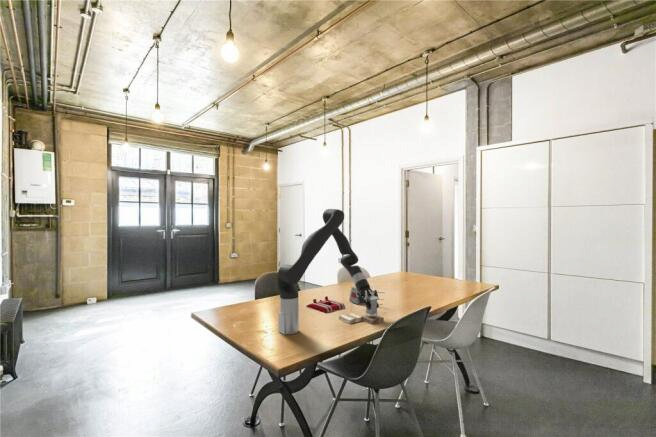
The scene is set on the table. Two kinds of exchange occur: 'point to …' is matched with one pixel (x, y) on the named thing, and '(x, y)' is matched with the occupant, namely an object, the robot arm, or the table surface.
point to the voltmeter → (353, 296)
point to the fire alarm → (326, 305)
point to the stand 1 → (350, 318)
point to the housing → (372, 306)
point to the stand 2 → (372, 319)
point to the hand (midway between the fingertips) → (373, 308)
